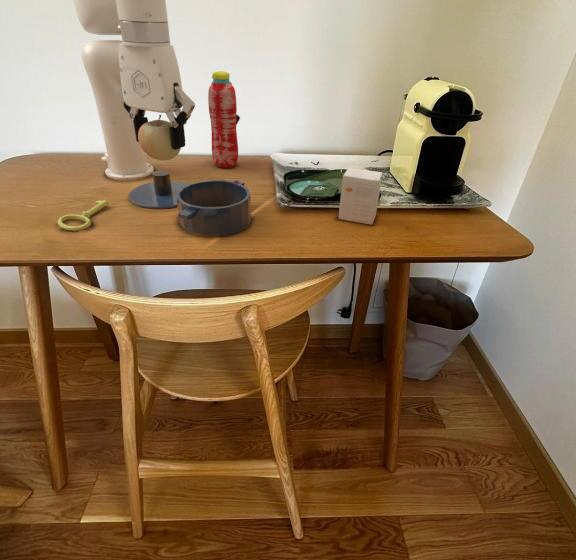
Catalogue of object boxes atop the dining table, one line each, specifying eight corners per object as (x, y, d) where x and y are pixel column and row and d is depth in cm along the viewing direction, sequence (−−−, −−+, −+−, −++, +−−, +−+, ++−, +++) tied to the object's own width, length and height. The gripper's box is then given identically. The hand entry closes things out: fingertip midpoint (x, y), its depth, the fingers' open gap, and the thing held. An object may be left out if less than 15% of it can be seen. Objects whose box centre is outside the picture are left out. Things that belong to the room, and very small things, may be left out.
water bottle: (222, 156, 125) (216, 67, 111) (246, 159, 123) (244, 69, 109) (206, 168, 115) (199, 72, 101) (233, 172, 114) (228, 74, 99)
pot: (156, 231, 83) (151, 202, 79) (214, 197, 98) (212, 172, 95) (217, 249, 78) (215, 220, 74) (268, 211, 93) (268, 185, 89)
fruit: (179, 151, 80) (174, 109, 76) (185, 162, 75) (180, 118, 70) (140, 153, 78) (132, 110, 73) (143, 166, 72) (135, 120, 68)
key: (111, 207, 91) (109, 198, 90) (86, 232, 81) (83, 223, 80) (80, 205, 92) (78, 197, 90) (51, 230, 81) (48, 221, 80)
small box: (376, 215, 93) (383, 172, 87) (372, 225, 89) (380, 180, 83) (342, 209, 95) (348, 166, 89) (337, 219, 91) (342, 174, 85)
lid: (114, 201, 94) (108, 176, 91) (161, 180, 106) (157, 157, 103) (168, 217, 88) (164, 191, 85) (211, 193, 101) (209, 169, 97)
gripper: (87, 31, 65) (111, 141, 75) (174, 39, 59) (186, 157, 69) (122, 30, 70) (139, 132, 80) (203, 37, 65) (211, 146, 75)
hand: (161, 143), depth 75 cm, fingers closed on fruit, 7 cm apart
